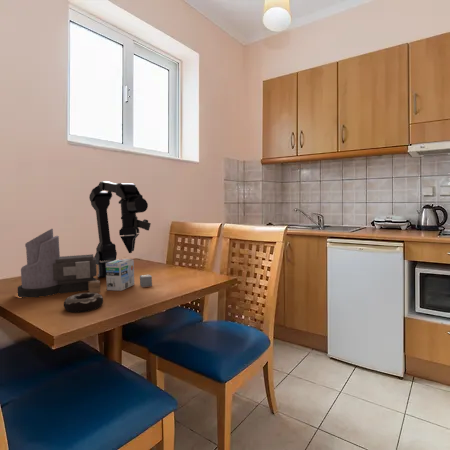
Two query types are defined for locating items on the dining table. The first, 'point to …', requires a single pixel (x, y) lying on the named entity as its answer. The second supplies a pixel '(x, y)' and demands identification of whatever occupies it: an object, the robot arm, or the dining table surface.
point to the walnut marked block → (94, 286)
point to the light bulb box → (120, 274)
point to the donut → (83, 302)
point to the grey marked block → (145, 280)
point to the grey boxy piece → (54, 269)
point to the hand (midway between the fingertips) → (131, 252)
